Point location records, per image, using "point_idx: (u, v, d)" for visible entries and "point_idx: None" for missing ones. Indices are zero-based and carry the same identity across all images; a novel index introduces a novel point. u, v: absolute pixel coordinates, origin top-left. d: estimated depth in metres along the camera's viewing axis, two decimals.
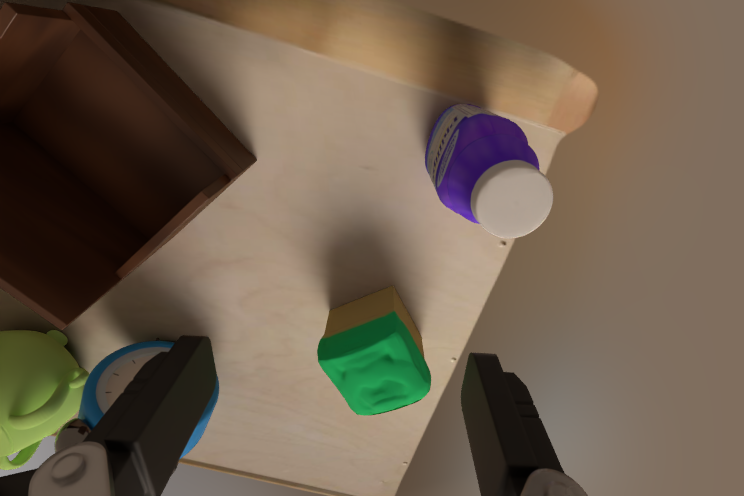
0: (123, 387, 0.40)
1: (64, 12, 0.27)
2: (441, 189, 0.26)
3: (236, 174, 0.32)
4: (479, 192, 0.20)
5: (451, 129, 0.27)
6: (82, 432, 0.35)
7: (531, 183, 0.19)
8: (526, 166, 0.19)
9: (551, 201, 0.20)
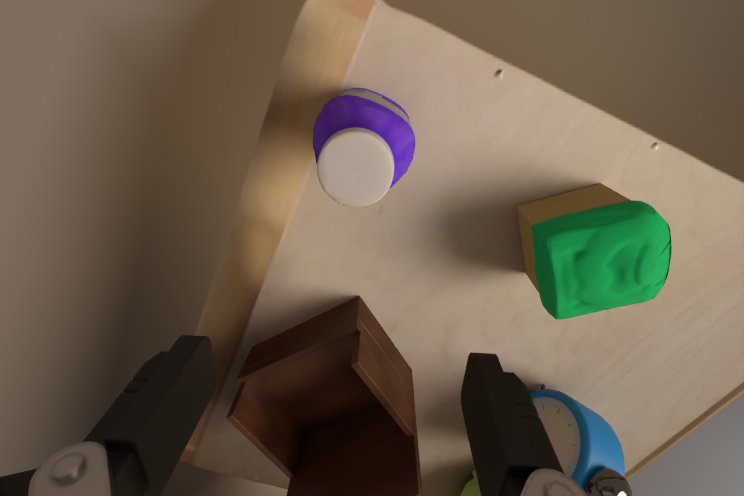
0: None
1: (242, 383, 0.43)
2: None
3: (355, 325, 0.39)
4: None
5: None
6: None
7: (334, 155, 0.19)
8: (318, 158, 0.20)
9: (356, 133, 0.19)
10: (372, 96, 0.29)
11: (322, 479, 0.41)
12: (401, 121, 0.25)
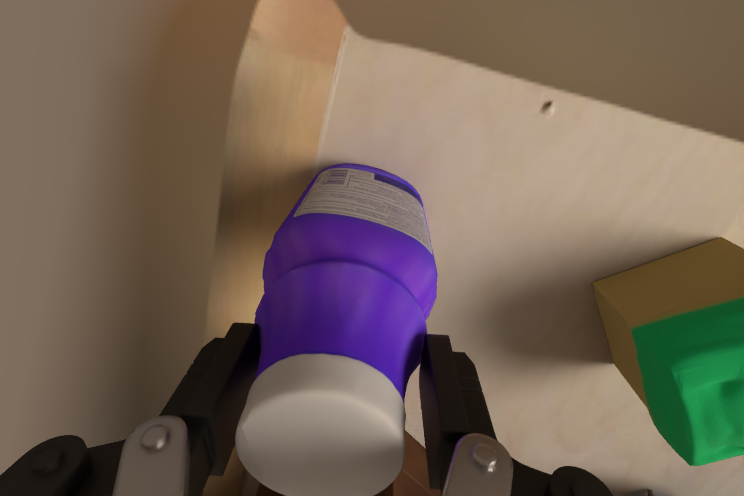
0: None
1: None
2: None
3: None
4: None
5: None
6: None
7: (266, 436, 0.09)
8: None
9: (306, 396, 0.08)
10: (357, 188, 0.18)
11: None
12: (408, 251, 0.14)
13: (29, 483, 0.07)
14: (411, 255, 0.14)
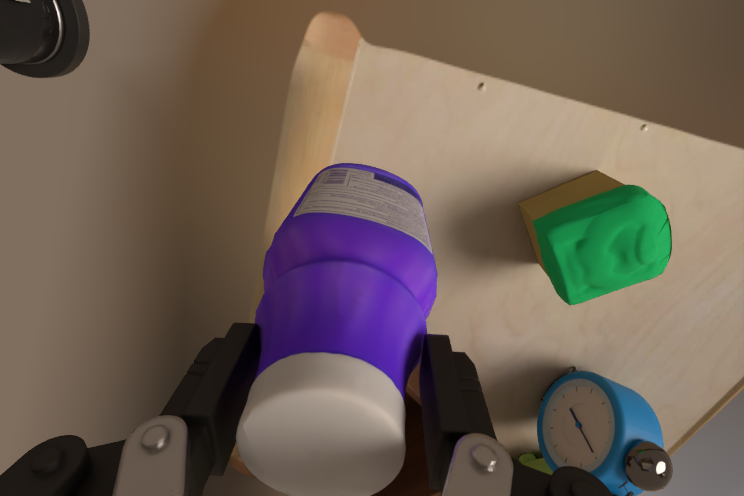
0: (567, 447, 0.46)
1: None
2: None
3: None
4: (301, 495, 0.10)
5: None
6: None
7: (268, 434, 0.09)
8: None
9: (306, 395, 0.08)
10: (357, 188, 0.18)
11: None
12: (408, 251, 0.14)
13: (29, 483, 0.07)
14: (411, 254, 0.14)
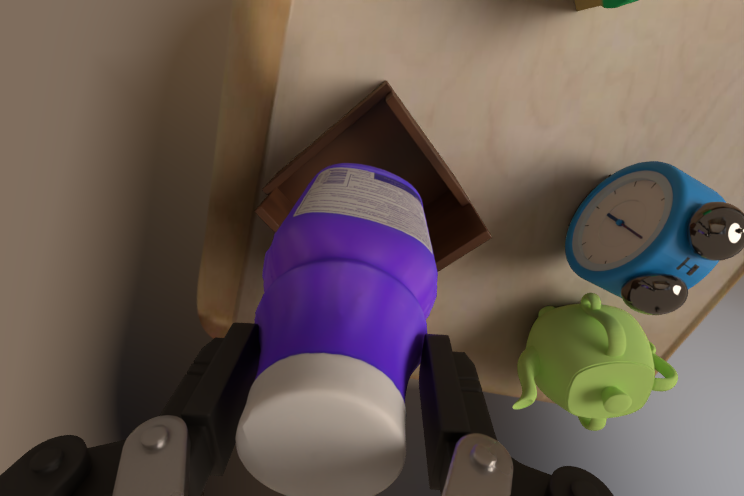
0: (606, 251, 0.38)
1: (268, 194, 0.39)
2: None
3: (385, 84, 0.34)
4: None
5: None
6: (636, 283, 0.33)
7: (268, 435, 0.09)
8: None
9: (306, 395, 0.08)
10: (357, 187, 0.18)
11: None
12: (408, 251, 0.14)
13: (30, 483, 0.07)
14: (411, 254, 0.14)
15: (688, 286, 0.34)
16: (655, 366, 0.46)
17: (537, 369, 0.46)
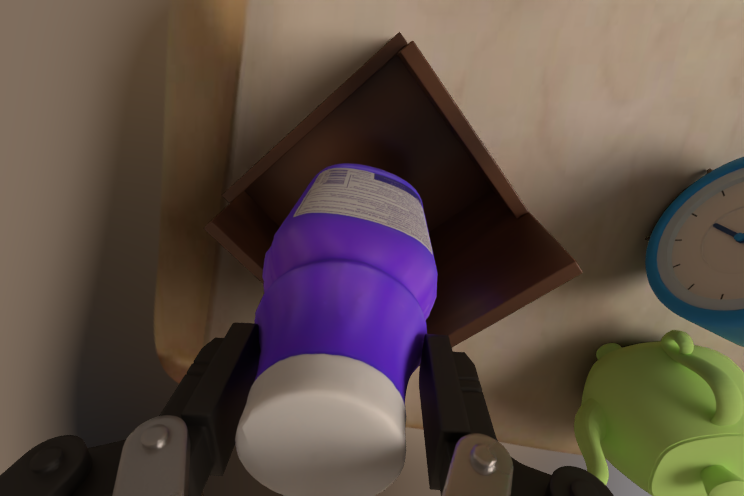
0: (720, 279, 0.26)
1: (232, 201, 0.27)
2: None
3: (398, 34, 0.22)
4: None
5: None
6: None
7: (267, 436, 0.09)
8: None
9: (306, 396, 0.08)
10: (357, 188, 0.18)
11: None
12: (408, 251, 0.14)
13: (29, 483, 0.07)
14: (411, 255, 0.14)
15: None
16: None
17: (603, 433, 0.34)
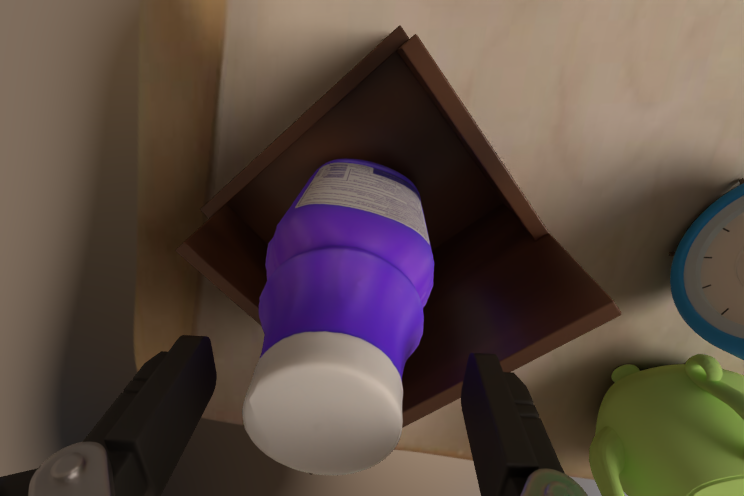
0: None
1: (211, 216, 0.24)
2: None
3: (398, 27, 0.19)
4: (304, 469, 0.10)
5: None
6: None
7: (272, 407, 0.09)
8: (243, 409, 0.09)
9: (309, 368, 0.09)
10: (356, 181, 0.19)
11: None
12: (405, 240, 0.14)
13: None
14: (409, 244, 0.14)
15: None
16: None
17: (622, 466, 0.31)
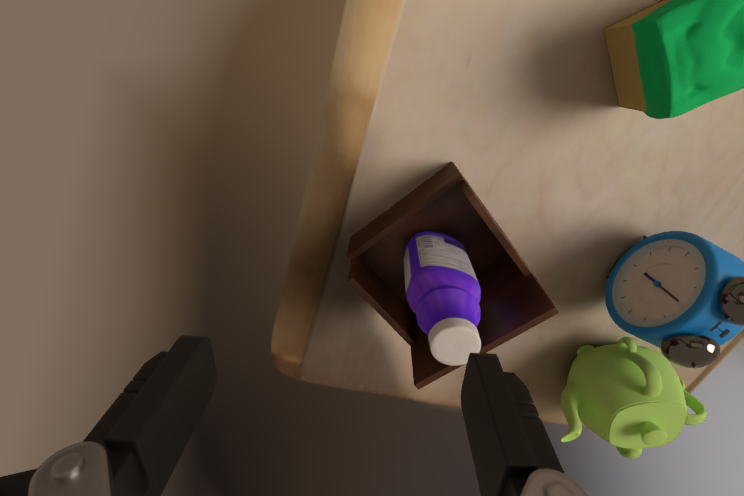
0: (645, 308, 0.44)
1: (351, 260, 0.45)
2: None
3: (459, 174, 0.40)
4: None
5: None
6: (675, 342, 0.39)
7: (442, 340, 0.30)
8: (431, 342, 0.30)
9: (455, 328, 0.29)
10: (440, 249, 0.39)
11: None
12: (471, 282, 0.35)
13: None
14: (472, 283, 0.35)
15: (719, 344, 0.39)
16: (685, 401, 0.51)
17: (579, 404, 0.52)
